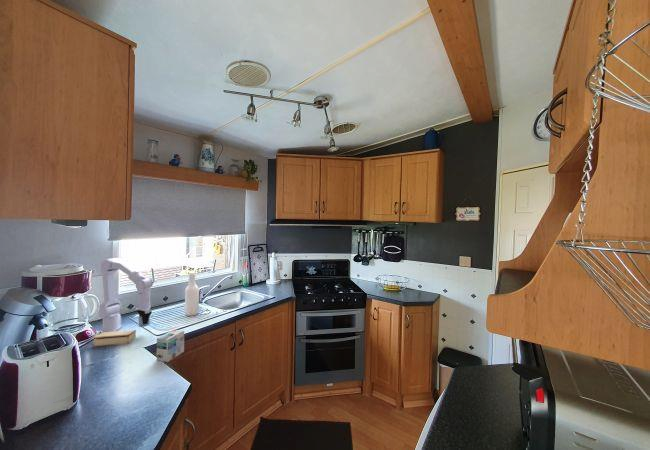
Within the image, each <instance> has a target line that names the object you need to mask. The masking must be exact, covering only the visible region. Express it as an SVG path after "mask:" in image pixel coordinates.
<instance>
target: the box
mask: <svg viewBox="0 0 650 450" xmlns="http://www.w3.org/2000/svg"><path fill="white" fill-rule="evenodd" d="M136 332H137V330H136V331H135V332H133V333H131V334H130V335H126V336H113V337H101V338H93V340H92V343H93V344H92V346H93V347H102V346H104V347H105V346H117V345H124V344H130V342H132V341H134V339H135V338H136V335H137V334H136ZM131 340H132V341H131Z"/></svg>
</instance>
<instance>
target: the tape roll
mask: <svg viewBox="0 0 650 450" xmlns="http://www.w3.org/2000/svg"><path fill="white" fill-rule="evenodd" d="M150 317H151V316H150ZM150 317H149V321H148V324H144V325H143V322H142V317H141V316H140V317H139V316H138V327H140V328H143V327H148V326H150V324H151V322H150V321H151V320H150Z"/></svg>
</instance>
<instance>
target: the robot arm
mask: <svg viewBox="0 0 650 450" xmlns="http://www.w3.org/2000/svg"><path fill="white" fill-rule="evenodd" d="M100 269H101V274H102V287H103V297H104V298H103V299H104V300H103V301H102V302H101V303H100V304H99V309H98V315H99V316H100V317H101V319H102V330H101V331H102V333H103V332H116V331H118V330H120V329H121V328H122V327H123V326H124V325H122V315H121V314H120V313H121V312H122V309H123V306H122V304H121V299H117V298H116V296H117V295H116V286H115V285H116V281H115V274H116V272H117V271H118V270H120V271H121V272H122V273H124V274H126V275H127V276H128V277H127V278H128V279H129V281H131V282H132V283H133V284H135V289H136V290H137V291H136V292H137V293H138V294H137V298H138V299H137V300H138V301H137V302H138V304H137V305H138V306H137V307H135V310H136V312H137V314H138V315H139V316H138V318H139V317H140V316H141V317H142V322H143V325H144V324H148V321H149V317H151V314H152V313H153V311H152V310H151V307H152V306H151V287H153V285H154V282H153V279H152V278H151V277H146V276H144V274H142V273H141V272H140V271H139V270H134V269H133V268H132V267H131V266H130V265H129V264H127V260H126V259H125V258H124V257H122V256H120V257H113V258H105V259H103V260H102V261H101V263H100Z"/></svg>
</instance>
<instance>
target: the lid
mask: <svg viewBox="0 0 650 450" xmlns="http://www.w3.org/2000/svg"><path fill="white" fill-rule="evenodd" d="M135 331H136V332H137V330H136V329H130V330H129V329H128V330H119V331H118V330H117V331H115V332H103V333H98V334H97V335H94V336H93V339H95V338H101V337H113V336H126V335H130V334H131V333H133V332H135Z"/></svg>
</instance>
